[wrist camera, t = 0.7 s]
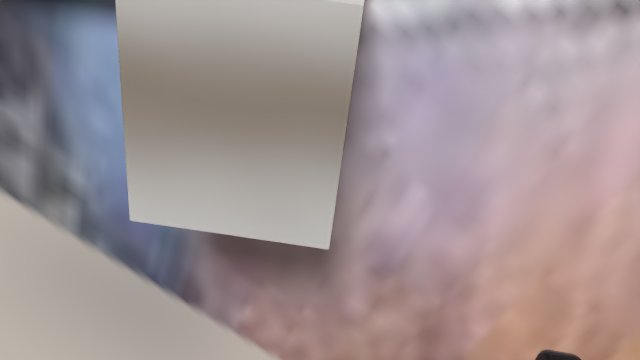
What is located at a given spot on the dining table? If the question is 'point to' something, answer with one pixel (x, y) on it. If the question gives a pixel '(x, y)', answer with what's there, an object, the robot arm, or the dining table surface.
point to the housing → (237, 113)
